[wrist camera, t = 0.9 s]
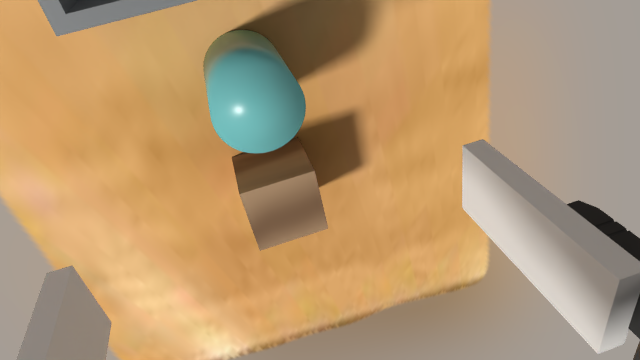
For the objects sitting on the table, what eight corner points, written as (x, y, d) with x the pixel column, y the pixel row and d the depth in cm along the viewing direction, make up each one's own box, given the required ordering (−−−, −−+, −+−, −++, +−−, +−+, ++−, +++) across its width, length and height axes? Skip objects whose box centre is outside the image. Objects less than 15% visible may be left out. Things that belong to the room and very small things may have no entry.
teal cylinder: (217, 17, 27) (227, 50, 21) (292, 45, 29) (320, 82, 24) (193, 92, 29) (198, 140, 23) (265, 113, 31) (285, 162, 26)
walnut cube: (231, 156, 32) (239, 194, 28) (297, 136, 33) (314, 170, 29) (250, 209, 35) (260, 250, 31) (310, 190, 36) (328, 228, 32)
